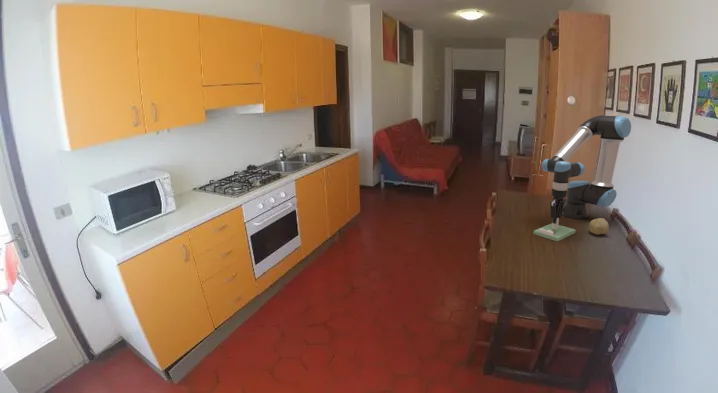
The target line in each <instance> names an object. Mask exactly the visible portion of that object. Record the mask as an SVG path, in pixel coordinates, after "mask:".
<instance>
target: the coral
mask: <svg viewBox="0 0 718 393" xmlns="http://www.w3.org/2000/svg"><path fill="white" fill-rule="evenodd" d="M588 229H589V231H590V233H592V234H593V235H597V236H598V235H607V234H608V233H609V231H610V227H609V222H608V221H607V220H606V219H605V218H603V217H602V218H601V217H599V218H594V219H592V220H590V222H589V225H588Z"/></svg>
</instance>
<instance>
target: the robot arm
mask: <svg viewBox="0 0 718 393" xmlns="http://www.w3.org/2000/svg"><path fill="white" fill-rule="evenodd" d="M631 131H632V123H631V120H630V119H629V118H628V117H627V116H622V115H621V116H620V115H604V114H603V115H595V116H593V117H590V118H589V119H587V120H585V121H583V123H581V124H580V125H579V126H578V127H577V128H576V132H575V133H573V135H572V136H571V137H570V138H569V139H568V140H567V141H566V142H565V143H564V145H562V147H561V148H560V149H559V150H558V151H557V152H556V153H555V154H554V155H553V156H552V157H551V158H546V159H544V160H543V161H542V162H541V169H542V171H544V172H547V173H553V181H552V189H551V196H552V197H553V199H552V202H550V203H549V205H550V218H552V222H551V223H552V228H554V229H558V225H559V220H560V219H561V218H562V216H564V217H567V218H569V219H576V220H577V219H579V220H584V219H587V218H588V217H589V211H588V205H587V204H590V205H594V206H598V207H600V208H601V207H603V208H607V207H609V206H611V205H612V204H613V203H614V202H615V199H616V198H617V190H615V189H614V187H615V186H614V184H613V183H612V182H613V176H614V171H615V168H616V162H617V159H618V158H617V157H618V153H619V148H620V144H621V143H622V142H624V140H625V138H627V137H629V135H630V133H632V132H631ZM594 136H599V137H600V140H601V142H602V143H601V148H600V151H599V157H598V163H597V168H596V173H595V177H594V180H593V181H592V182H591V181H589V180H581V179H580V180H572V181H570V178H573V177H574V178H575V177H579V176H582V175H583V174H584V173H585V170H586V169H585V165H584V164H583V163H581V162H570V161H568V160H570V159H571V157H572V156H573V155H574V154H575V153H576V152H577V151H578V150H579V149H580V148H581V146H583V144H585V143H586V141H587V140H588V139H589V140H590V139H591V138H592V137H594Z"/></svg>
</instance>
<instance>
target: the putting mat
mask: <svg viewBox="0 0 718 393" xmlns="http://www.w3.org/2000/svg"><path fill="white" fill-rule="evenodd" d="M547 230H552V231H553V232H550V231H547ZM576 231H577V229H575V228H571V227H568V226H563V225H560V224H558V229H554V228H552V222H551V223H550V224H547V225H544V226H542V227H539V228H537V229H534V230H533V235H536V236H538V237H542V238H545V239H548V240H552V241H555V242H559V241H561V240H564V239H565V238H568V237H569V236H572V235H574V234H575V233H576Z"/></svg>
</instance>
